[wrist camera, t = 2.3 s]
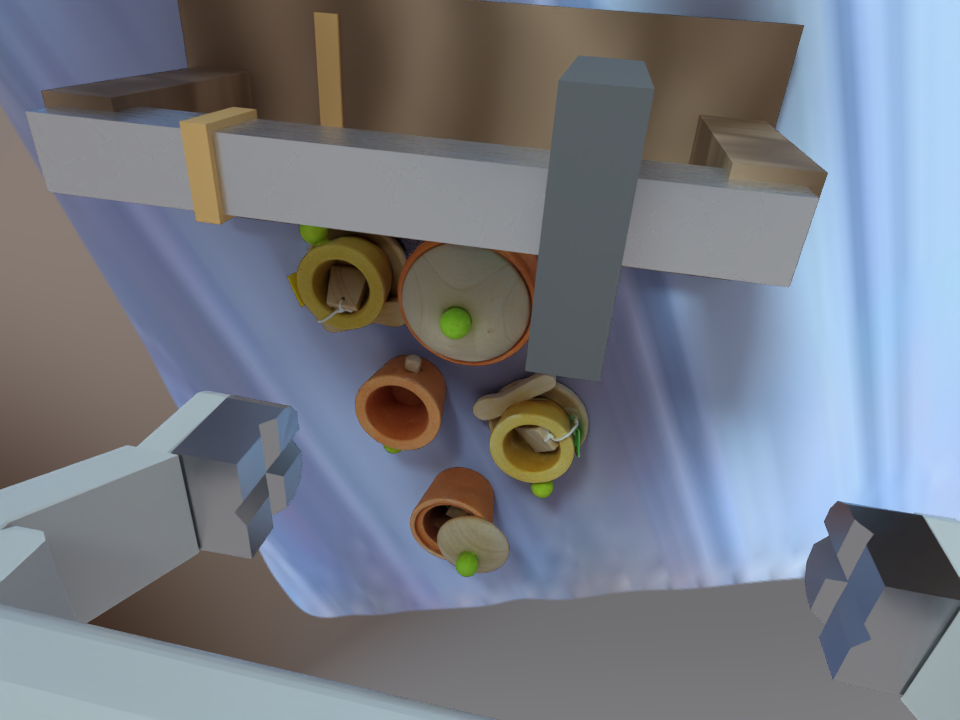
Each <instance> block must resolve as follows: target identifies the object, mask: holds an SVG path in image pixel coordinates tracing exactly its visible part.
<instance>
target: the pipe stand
mask: <svg viewBox="0 0 960 720" xmlns="http://www.w3.org/2000/svg"><path fill="white" fill-rule="evenodd" d="M178 6H179V12H180V19H181V25H182V31H183V38H184V44H185V51H186V57H187V64H188V68H185V69H179V70H172V71H166V72H159V73H153V74H146V75H140V76H133V77H127V78H120V79H114V80H107V81H101V82H94V83H88V84H81V85H75V86H68V87H62V88H55V89H49V90H42V91H41V92H42V96H43V100H44V104H45V107H46V108H40V109H35V110H30V111H25V113H26V116H27V120H28V123H29V127H30V130H31V134H32V137H33V141H34V144H35V148H36V152H37V155H38V159H39V162H40V166H41V169H42V173H43V176H44V180H45V183H46V187H47V190H48V192H53V193H61V194H69V195H76V196H84V197H92V198H100V199H107V200H115V201H123V202H131V203H138V204H146V205H154V206H162V207H170V208H177V209H185V210H193V211H194V213H195V219H196V221H197V222H205V223H213V224H222V223H224V222H226V221H228V220H229V219H231V218H233V217H235V216H236V217H244V218H251V219H259V220H267V221H275V222H282V223H290V224H298V225H301V224H302V225H309V226H317V227H325V228H329V229H337V230H345V231H352V232H360V233H368V234H376V235H383V236H391V237H399V238H407V239H414V240H422V241H434V242H441V243H449V244H457V245H465V246H473V247H480V248H488V249H496V250H504V251H511V252H519V253H527V254H535V255H538V254H539V245H540V237H541V228H542V219H543V211H544V202H545V193H546V185H547V176H548V167H549V159H550V150H551V141H552V133H553V124H554V115H555V107H556V98H557V89H558V81H559V79H560V78H561V77H562V75H563V74H564V73H565V72H566V70H567V69H568V68H569V67H570V65H571V64H572V63H573V62H574V60H575V59H576V58H577V57H578V55H579V56H591V57H603V58H615V59H626V60H638V61H644V62H645V64H646V67H647V70H648V72H649V75H650V78H651V80H652V83H653V86H654V89H655V90H654V96H653V101H652V106H651V112H650V117H649V122H648V128H647V133H646V138H645V144H644V149H643V154H642V160H641V165H640V170H639V176H638V181H637V186H636V192H635V197H634V202H633V208H632V213H631V218H630V224H629V229H628V234H627V240H626V245H625V250H624V256H623V261H622V266H624V267H632V268H640V269H647V270H655V271H663V272H671V273H678V274H686V275H694V276H702V277H709V278H717V279H725V280H737V281H744V282H752V283H760V284H768V285H775V286H783V287H789V286H790V284H791V281H792V278H793V275H794V272H795V269H796V266H797V263H798V260H799V257H800V254H801V251H802V248H803V245H804V242H805V239H806V236H807V233H808V230H809V227H810V224H811V221H812V218H813V215H814V213H815V210H816V207H817V204H818V201H819V198H820V195H821V192H822V189H823V186H824V183H825V180H826V177H827V174H828V173H827V172H826V171H825V170H824V169H823V168H821V167H820V166H819V165H818V164H817V163H815V162H814V161H813V160H812V159H811V158H809V157H808V156H807V155H806V154H805V153H803V152H802V151H801V150H800V149H799V148H797V147H796V146H795V145H794V144H793V143H791V142H790V141H789V140H788V139H787V138H785V137H784V136H783V135H782V134H781V133H779V132H778V131H777V130H776V129H775V126H776V122H777V119H778V115H779V112H780V108H781V105H782V101H783V98H784V94H785V91H786V87H787V84H788V80H789V77H790V73H791V70H792V66H793V63H794V59H795V56H796V52H797V49H798V45H799V41H800V38H801V34H802V31H803V27H804V25H798V24H786V23H772V22H759V21H746V20H732V19H719V18H706V17H692V16H679V15H666V14H652V13H639V12H626V11H612V10H599V9H585V8H572V7H559V6H545V5H532V4H519V3H505V2H492V1H479V0H178Z"/></svg>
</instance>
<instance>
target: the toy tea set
mask: <svg viewBox="0 0 960 720" xmlns="http://www.w3.org/2000/svg"><path fill="white" fill-rule="evenodd" d="M300 234H301V236H302V238H303V239H304V240H305V241H306V242H307V243H309V244H310V245H309V248H308V252H307V254H306V255H305V256H304V258H303V259H302V260H301V262H300V264H299V267H298V271H297V272H295V273H293V274H291V275H289V276H287V278H288V280H289V282H290V284H291V287H292V289H293V291H294V293H295V295H296V298H297V300H298V301H299V304H300V306H301V307H303V306H304V305H306V306H307V308H308V309H309V310H310V311H311V312H312V313H313V314H314V315H315V316H316V321H317V322H318V323H322V326H323V327H324V329H325V330H327V331H328V332H332V333H333V332H342V331H346V330H350V329H358V328H361V327H364V326H366V325H369V324H376V323H378V324H383V325H387V326H392V327H399V326H402V325H404V324H406V326H407V327H408V329H409V331H410V332H411V333H412V335H413V336H414V337H415V339H416V340H417V341H418V342H419V343H420V344H422V345H423V346H424V347H425V348H426V349H428V350H429V351H430V352H432V353H433V354H435V355H437V356H439V357H440V358H442V359H445V360H447V361H450V362H453V363H457V364H461V365H471V366H481V365H488V364H493V363H496V362H499V361H502V360H504V359H506V358H508V357H510V356H512V355H513V354H515V353H516V352H517V351H518V350H520V349H521V348H522V347H523V346H524V344H525V343H526V342H527V341H528V340H529V332H530V323H531V315H532V306H533V297H534V289H535V280H536V271H537V263H538V259H537V255H535V254H527V253H519V252H511V251H504V250H496V249H488V248H480V247H473V246H465V245H457V244H449V243H441V242H434V241H424V242H423V243H422V244H420V245H419V246H418V247H417V248H416V249H415V250H414V251H413V253H412V254H411V255H410V256H409V258H408V259H407V256H406V254H405V252H404V250H403V248H402V247H401V245H400V244H399V242H398V241H397V240H396V239H395V238H394V237H391V236H383V235H376V234H368V233H360V232H352V231H345V230H337V229H329V228H325V227H317V226H309V225H302V224H301V225H300ZM445 396H446V383H445V380H444V377H443V375H442V374H441V372H440V371H439V370H438V368H437V367H436V366H435V365H434V364H432V363H431V362H429V361H428V360H426V359H424V358H422V357H419V356H418V355H414V354H412V355H401V356H398V357H395V358H393V359H391V360H390V361H388V362H387V363H386V364H385V365H384V366H383V367H382V368H381V369H379V370H378V371H377V372H376V373H375V374H374V375H373V376H372V377H371V378H369V379H368V380H367V381H366V382H365V383H364V384H363V385H362V386H361V388H360V389H359V391H358V393H357V396H356V400H355V410H356V415H357V418H358V420H359V423H360V424H361V426H362V427H363V429H364V430H365V431H366V432H367V433H368V434H369V435H370V436H371V437H372V438H373V439H375V440H376V441H377V442H379V443H381V444H383V445H384V448H385V449H386V450H387V451H388V452H389V453H393V454H395V453H399V452H400V451H402V450H414V449H419V448H421V447H423V446H425V445H427V444H429V443H430V442H431V441H432V440H433V439H434V438H435V437H436V435H437V433H438V431H439V429H440V425H441V420H442V414H443V408H444V402H445ZM473 414H474V415H475V416H476V417H477V418H478V419H481V420H488V423H489V428H490V431H491V436H490V442H489V445H490V453H491V455H492V458H493V460H494V462H495V463H496V464H497V465H498V467H499V468H500V469H501V470H502V471H503V472H505V473H506V474H507V475H509V476H511V477H513V478H515V479H517V480H520V481H523V482H529V483H531V491H532V492H533V494H534V495H535V496H536V497H539V498H545V497H548V496H549V495H550V494H551V493H552V491H553V482H552V480H554V479H556V478H558V477H560V476H561V475H562V474H564V473H565V472H566V471H567V470H568V469H569V467H570V466H571V463H572V461H573V458H574V453H576V455H577V457H578V458H580V447H581V445H582V444H583V442H584V440H585V438H586V436H587V433H588V425H589V420H588V414H587V411H586V408H585V406H584V405H583V403H582V401H581V400H580V399H579V397H578V396H577V395H576V394H575V393H574V392H573V391H571V390H570V389H569V388H567V387H566V386H564V385H562V384H560V383H558V382H556V376H555V375H549V374H543V373H536V374H534V375H532V376H530V377H528V378H523V379H520V380H517V381H514V382H512V383H510V384H508V385H506V386H505V387H503V388H502V389H501V390H500V391H499V392H498V393H495V394H487V395H484V396H482V397H480V398H479V399H478V400H477V401H476V402H475V404H474V406H473ZM493 510H494V491H493V488H492V486H491V484H490V483H489V481H488V480H487V479H486V478H485V477H483V476H482V475H481V474H479V473H478V472H476V471H474V470H471V469H467V468H462V467H454V468H449V469H446V470H444V471H442V472H441V473H439V474H438V475H437V476H436V478H435V479H434V481H433V482H432V484H431V485H430V487H429V488H428V490H427V491H426V493H425V494H424V496H423V497H422V499H421V500H420V502H419V503H418V505H417V506H416V508H415V509H414V511H413V513H412V515H411V518H410V527H411V531H412V534H413V536H414V538H415V539H416V541H417V542H418V543H419V545H420V546H421V547H423V548H424V549H425V550H426V551H427V552H429V553H431V554H433V555H435V556H437V557H439V558H442V559H446V560H448V561H449V562H450V563H451V564H453V565H454V566H456V570H457V572H458V573H459V574H460V575H462V576H464V577H469V576H472V575H474V574H475V573H486V572H491V571H494V570H496V569H498V568H500V567H501V566H502V565H503V564H504V563H505V562H506V560H507V559H508V556H509V544H508V541H507V539H506V537H505V535H504V534H503V533H502V531H501V530H500V529H499V528H498V527H496V526H495V525H494V524H493Z"/></svg>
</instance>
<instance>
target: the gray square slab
mask: <svg viewBox="0 0 960 720" xmlns="http://www.w3.org/2000/svg"><path fill="white" fill-rule="evenodd" d="M654 90H655V89H654V86H653V83H652V80H651V78H650V75H649V72H648V70H647V67H646V64H645V62H644V61H638V60H626V59H615V58H603V57H591V56H579V55H578V57H577V58H576V59H575V60H574V62H573V63H572V64H571V65H570V67H569V68H568V69H567V70H566V72H565V73H564V74H563V75H562V77H561V78H560V79H559V81H558V89H557V98H556V107H555V115H554V124H553V133H552V141H551V150H550V159H549V167H548V176H547V185H546V193H545V202H544V211H543V219H542V228H541V237H540V245H539V254H538V263H537V271H536V280H535V289H534V297H533V306H532V315H531V323H530V332H529V340H528V349H527V358H526V366H525V371H530V372H536V373H543V374H549V375H556V376H562V377H569V378H575V379H582V380H588V381H595V382H600V378H601V373H602V368H603V362H604V357H605V352H606V346H607V341H608V336H609V330H610V325H611V320H612V314H613V309H614V304H615V298H616V293H617V288H618V282H619V277H620V272H621V266H622V261H623V256H624V250H625V245H626V240H627V234H628V229H629V224H630V218H631V213H632V208H633V202H634V197H635V192H636V186H637V181H638V176H639V170H640V165H641V160H642V154H643V149H644V144H645V138H646V133H647V128H648V122H649V117H650V112H651V106H652V101H653V96H654Z"/></svg>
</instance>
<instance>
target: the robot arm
mask: <svg viewBox="0 0 960 720" xmlns="http://www.w3.org/2000/svg"><path fill="white" fill-rule="evenodd" d="M298 430H299V424H298V417H297V411H296V410H294V409H293V408H292V407H291V406H287V405H282V404H277V403H271V402H266V401H261V400H256V399H251V398H246V397H241V396H236V395H235V396H232V395H229V394H224V393H218V392H213V391H202V392H198V393H197V394H195V395H194V396H193V397H192V398H191V399H190V400H189V401H188V402H186V403H185V404H184V405H183V406H182V407H181V408H180V409H179V410H178V411H177V412H175V413H174V414H173V415H172V416H171V417H170V418H169V419H167V420H166V421H165V422H164V423H163V424H162V425H161V426H160V427H159V428H157V429H156V430H155V431H154V432H153V433H152V434H151V435H150V436H149V437H147V438H146V439H145V440H144V441H143V442H142V443H141V444H140V445H138V446H137V447H133V446H128V445H127V446H124V447H121V448H118V449H116V450H113V451H110V452H107V453H104V454H101V455H99V456H96V457H93V458H90V459H87V460H84V461H82V462H78V463H76V464H73V465H70V466H67V467H64V468H62V469H59V470H56V471H53V472H50V473H47V474H44V475H41V476H39V477H36V478H33V479H30V480H27V481H24V482H22V483H19V484H16V485H13V486H10V487H7V488H4V489H1V490H0V720H497V719H493V718H489V717H485V716H480V715H476V714H472V713H467V712H463V711H459V710H455V709H451V708H446V707H442V706H437V705H433V704H428V703H425V702H421V701H416V700H412V699H408V698H403V697H399V696H395V695H391V694H386V693H382V692H378V691H373V690H369V689H364V688H361V687H356V686H352V685H348V684H343V683H339V682H335V681H330V680H326V679H321V678H318V677H313V676H309V675H305V674H301V673H296V672H292V671H288V670H283V669H279V668H275V667H271V666H266V665H262V664H258V663H253V662H249V661H245V660H240V659H236V658H232V657H228V656H223V655H219V654H215V653H210V652H206V651H202V650H198V649H193V648H189V647H185V646H180V645H176V644H172V643H168V642H163V641H159V640H155V639H150V638H146V637H142V636H138V635H133V634H129V633H124V632H120V631H116V630H112V629H107V628H103V627H99V626H94V625H90V624H86V623H87V622H89V621H91V620H92V619H94V618H95V617H97V616H99V615H100V614H102V613H103V612H105V611H107V610H108V609H110V608H111V607H113V606H115V605H116V604H118V603H119V602H121V601H123V600H124V599H126V598H127V597H129V596H131V595H132V594H134V593H135V592H137V591H139V590H140V589H142V588H143V587H145V586H146V585H148V584H150V583H151V582H153V581H155V580H156V579H158V578H159V577H161V576H163V575H164V574H166V573H167V572H169V571H171V570H172V569H174V568H175V567H177V566H179V565H180V564H182V563H183V562H185V561H186V560H188V559H190V558H191V557H193V556H195V555H196V554H198V553H199V550H204V551H210V552H216V553H222V554H227V555H233V556H239V557H244V558H249V559H252V558H253V557H254V555H255V554H256V552H257V551H258V549H259V548H260V546H261V545H262V544H263V542H264V541H265V539H266V538H267V536H268V535H269V533H270V532H271V530H272V529H273V521H272V515H273V514H275V513H277V512H279V511H281V510H283V509H285V508H287V506H288V505H289V503H290V502H291V500H292V499H293V497H294V496H295V493H296V490H297V487H298V485H299V482H300V479H301V471H302V454H301V450H300V449H299V448H298V446H297V445H296V444H295V443H294V441H293V440H292V438H293V436H294V435H295V434H296V432H297V431H298ZM824 523H825V526H826V528H827V531H828V534H829V536H828V537H826V538H824V539H822V540H821V541H819V542H817V543H815V544H814V545H813V547H812V550H811V552H810V555H809V557H808V560H807V563H806V572H805V589H806V596H807V600H808V603H809V607H810V610H811V611H812V612H813V613H814V614H815V615H816V616H817V617H818V618H819V619H820V620H821V621H822V622H823V623H824V624H825V626H824V629H823V630H822V632H821V634H820V636H819V638H820V642H821V645H822V648H823V651H824V654H825V658H826V661H827V664H828V667H829V670H830V673H831V676H832V679H833V681H837V682H841V683H845V684H850V685H854V686H859V687H862V688H867V689H871V690H875V691H879V692H884V693H888V694H892V695H896V696H901V697H902V698H901V700H902V702H903V703H904V704H905V705H906V706H907V708H908V709H909V710H910V711H911V712H912V713H913V714H914V715H915V717H916V718H917V719H918V720H960V522H959V521H958V520H956V519H955V518H948V517H941V516H934V515H927V514H920V513H914V514H912V513H906V512H900V511H894V510H888V509H882V508H876V507H871V506H865V505H859V504H853V503H847V502H841V501H837V502H836V503H835V504H834V505H833V506H832V507H831V508H830V510H829V512H828V514H827V516H826V518H825V520H824Z"/></svg>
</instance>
